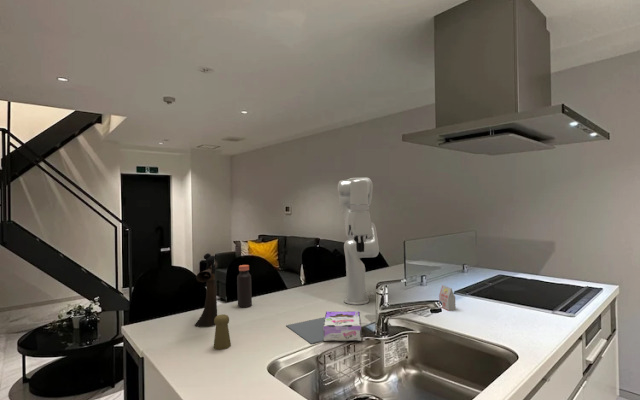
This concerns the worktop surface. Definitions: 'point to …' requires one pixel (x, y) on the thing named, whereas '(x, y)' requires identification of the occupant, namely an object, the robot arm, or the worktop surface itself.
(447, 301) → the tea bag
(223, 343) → the olive game pawn
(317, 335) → the mat
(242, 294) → the bottle
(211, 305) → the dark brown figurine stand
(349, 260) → the robot arm
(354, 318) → the candy box
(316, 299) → the worktop surface
